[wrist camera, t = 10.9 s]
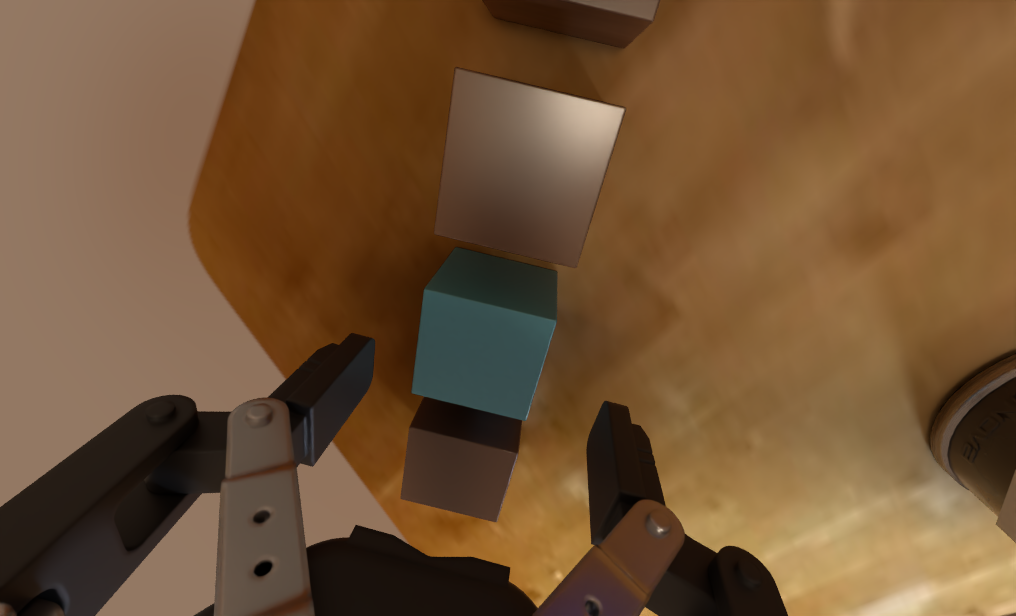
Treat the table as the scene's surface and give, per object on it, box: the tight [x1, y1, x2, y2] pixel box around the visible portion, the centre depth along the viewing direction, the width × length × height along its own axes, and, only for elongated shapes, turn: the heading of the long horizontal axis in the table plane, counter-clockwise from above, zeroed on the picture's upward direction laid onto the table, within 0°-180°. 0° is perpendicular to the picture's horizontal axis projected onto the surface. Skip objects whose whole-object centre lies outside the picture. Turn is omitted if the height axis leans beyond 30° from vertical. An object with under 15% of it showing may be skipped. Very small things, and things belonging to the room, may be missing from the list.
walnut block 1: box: [401, 396, 522, 522], centre depth 21 cm, size 5×5×5 cm
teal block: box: [411, 247, 557, 421], centre depth 18 cm, size 5×5×5 cm
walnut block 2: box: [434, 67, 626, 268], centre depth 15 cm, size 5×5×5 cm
